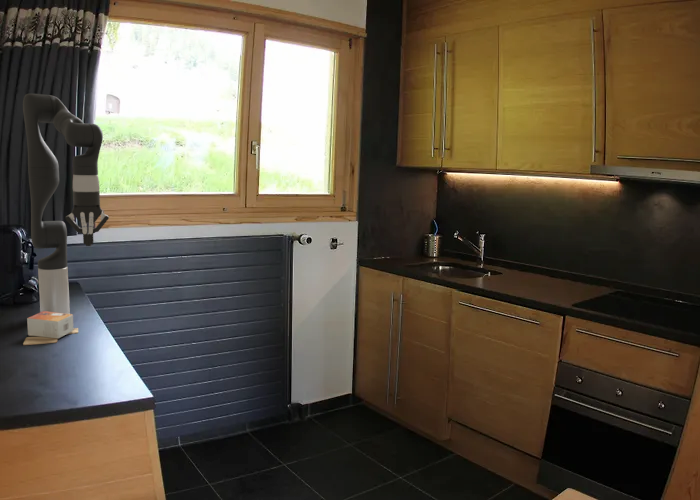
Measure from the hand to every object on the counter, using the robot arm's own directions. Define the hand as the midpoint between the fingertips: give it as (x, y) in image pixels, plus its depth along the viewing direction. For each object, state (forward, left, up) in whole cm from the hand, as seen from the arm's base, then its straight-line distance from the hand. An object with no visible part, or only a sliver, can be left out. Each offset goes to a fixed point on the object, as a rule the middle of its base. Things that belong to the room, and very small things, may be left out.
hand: (88, 245), depth 194 cm
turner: (-3, -12, -28) cm, 31 cm away
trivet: (+4, -14, -28) cm, 32 cm away
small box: (+2, -7, -25) cm, 26 cm away
